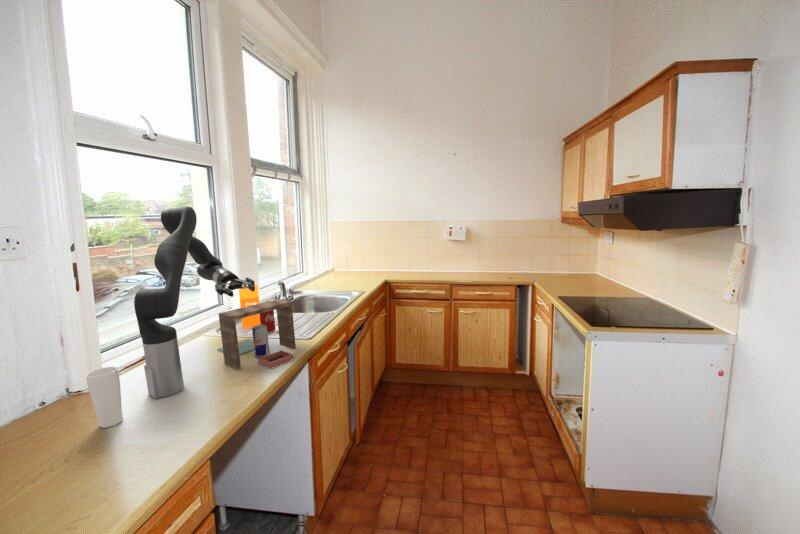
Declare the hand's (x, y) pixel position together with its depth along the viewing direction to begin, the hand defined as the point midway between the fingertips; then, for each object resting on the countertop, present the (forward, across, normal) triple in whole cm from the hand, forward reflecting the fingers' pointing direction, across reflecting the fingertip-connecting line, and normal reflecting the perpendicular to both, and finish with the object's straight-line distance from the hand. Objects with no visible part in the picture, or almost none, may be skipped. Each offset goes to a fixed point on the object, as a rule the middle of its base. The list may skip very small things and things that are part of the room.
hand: (243, 291), depth 152 cm
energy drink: (+14, 0, +22) cm, 27 cm away
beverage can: (-11, +15, +29) cm, 34 cm away
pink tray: (+24, 0, +20) cm, 31 cm away
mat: (-1, -2, +25) cm, 25 cm away
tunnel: (+14, 0, +22) cm, 26 cm away
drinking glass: (+27, -51, +17) cm, 60 cm away
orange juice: (-29, +16, +33) cm, 46 cm away
